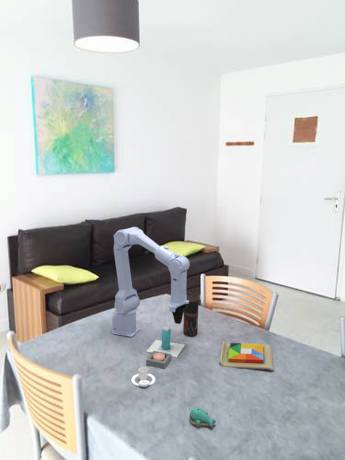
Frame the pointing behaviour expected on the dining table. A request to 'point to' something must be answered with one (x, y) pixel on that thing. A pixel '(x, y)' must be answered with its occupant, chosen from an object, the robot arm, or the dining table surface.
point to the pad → (173, 350)
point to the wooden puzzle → (246, 356)
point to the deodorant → (191, 317)
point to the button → (159, 356)
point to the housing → (158, 363)
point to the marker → (166, 338)
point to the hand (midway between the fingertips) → (178, 323)
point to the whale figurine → (201, 417)
